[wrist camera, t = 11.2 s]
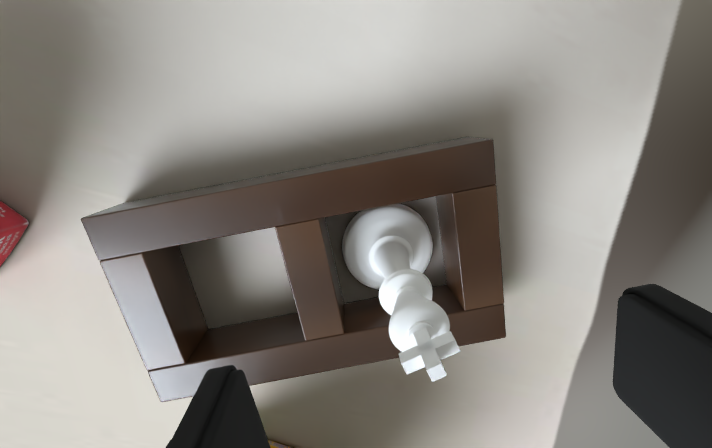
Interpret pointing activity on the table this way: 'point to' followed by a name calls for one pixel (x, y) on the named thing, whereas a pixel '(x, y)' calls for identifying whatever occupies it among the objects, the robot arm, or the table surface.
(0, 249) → the ink box
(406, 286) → the chess piece
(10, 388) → the table surface
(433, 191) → the two-slot wooden frame
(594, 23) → the table surface
